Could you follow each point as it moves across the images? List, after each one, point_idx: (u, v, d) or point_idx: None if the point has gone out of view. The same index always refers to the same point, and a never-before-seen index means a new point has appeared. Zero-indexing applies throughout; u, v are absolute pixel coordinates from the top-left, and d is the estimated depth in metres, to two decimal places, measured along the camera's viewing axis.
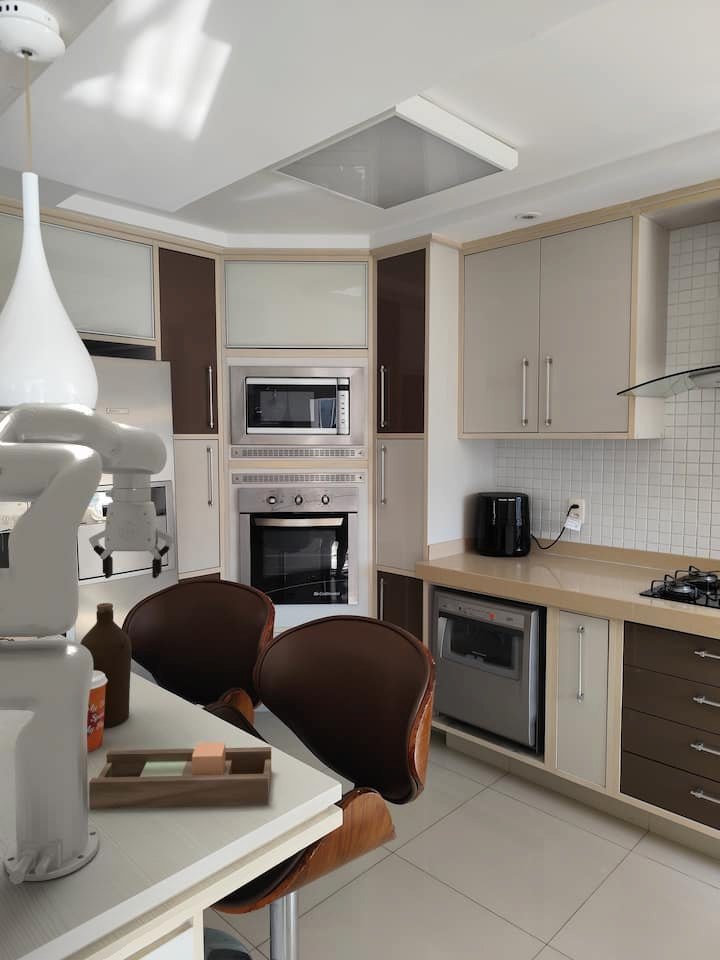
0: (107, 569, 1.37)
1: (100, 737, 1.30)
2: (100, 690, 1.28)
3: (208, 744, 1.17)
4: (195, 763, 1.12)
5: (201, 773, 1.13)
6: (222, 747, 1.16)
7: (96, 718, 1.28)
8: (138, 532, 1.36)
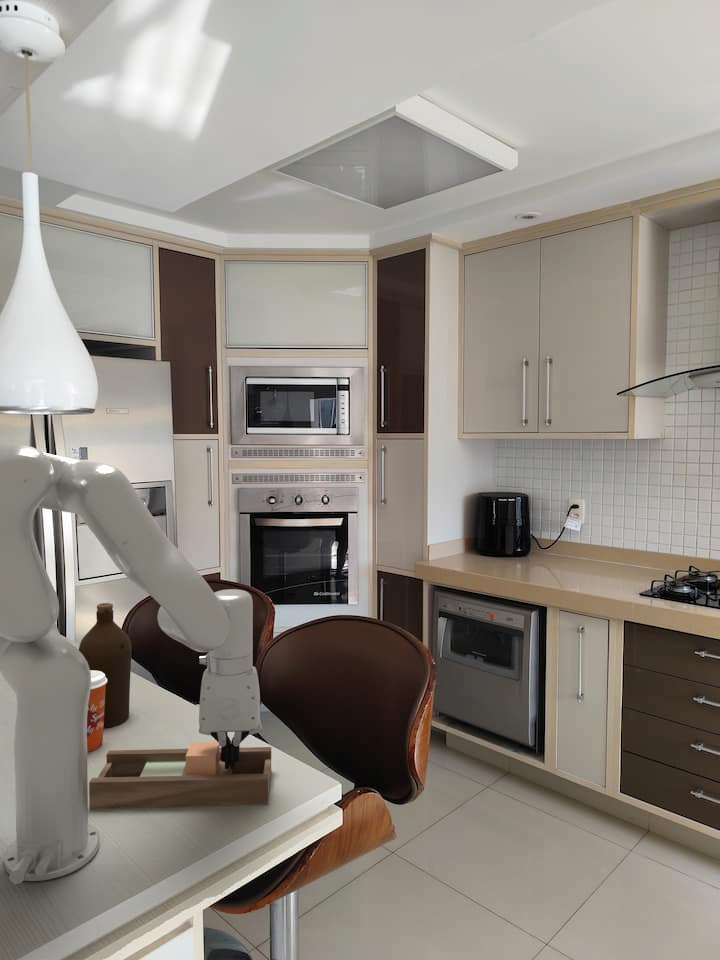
0: (227, 758, 1.14)
1: (100, 737, 1.30)
2: (100, 690, 1.28)
3: (203, 744, 1.17)
4: (189, 763, 1.13)
5: (195, 773, 1.13)
6: (216, 747, 1.16)
7: (96, 718, 1.28)
8: (240, 709, 1.12)
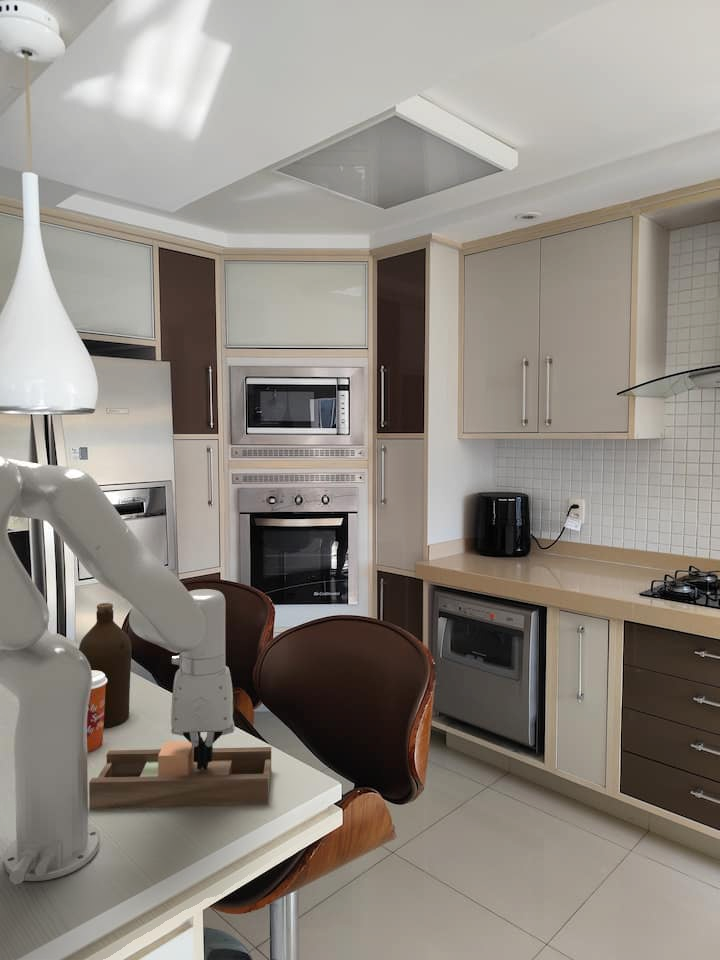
0: (200, 759, 1.14)
1: (100, 737, 1.30)
2: (100, 690, 1.28)
3: (176, 743, 1.17)
4: (161, 762, 1.13)
5: (167, 772, 1.13)
6: (190, 746, 1.16)
7: (96, 718, 1.28)
8: (212, 709, 1.12)
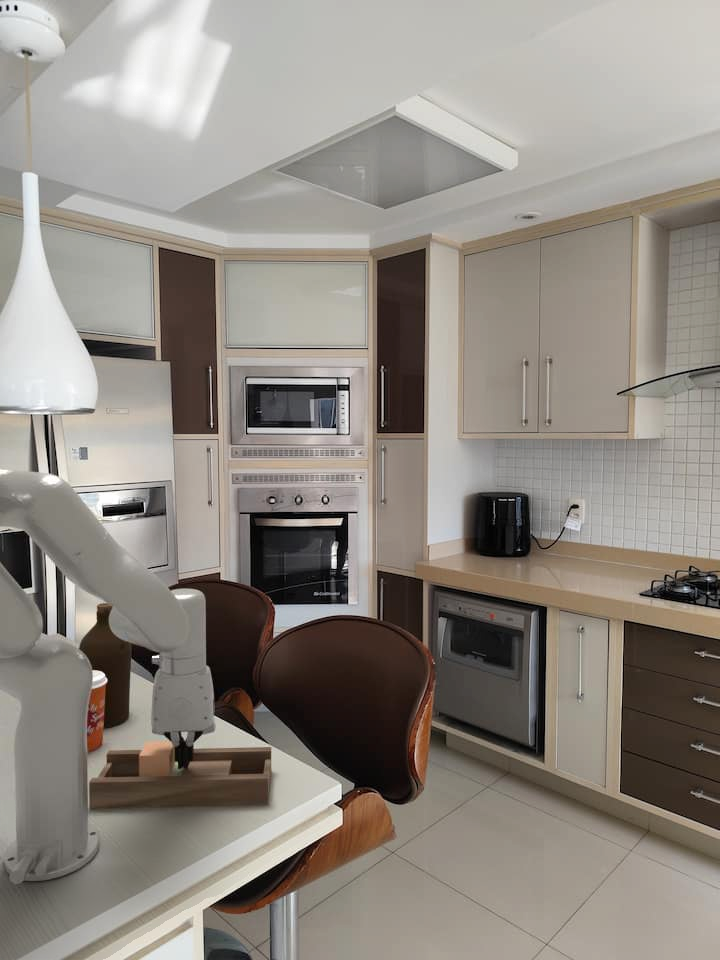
0: (180, 758, 1.13)
1: (100, 737, 1.30)
2: (100, 690, 1.28)
3: (158, 743, 1.17)
4: (142, 762, 1.13)
5: (148, 772, 1.13)
6: (171, 746, 1.16)
7: (96, 718, 1.28)
8: (192, 709, 1.12)
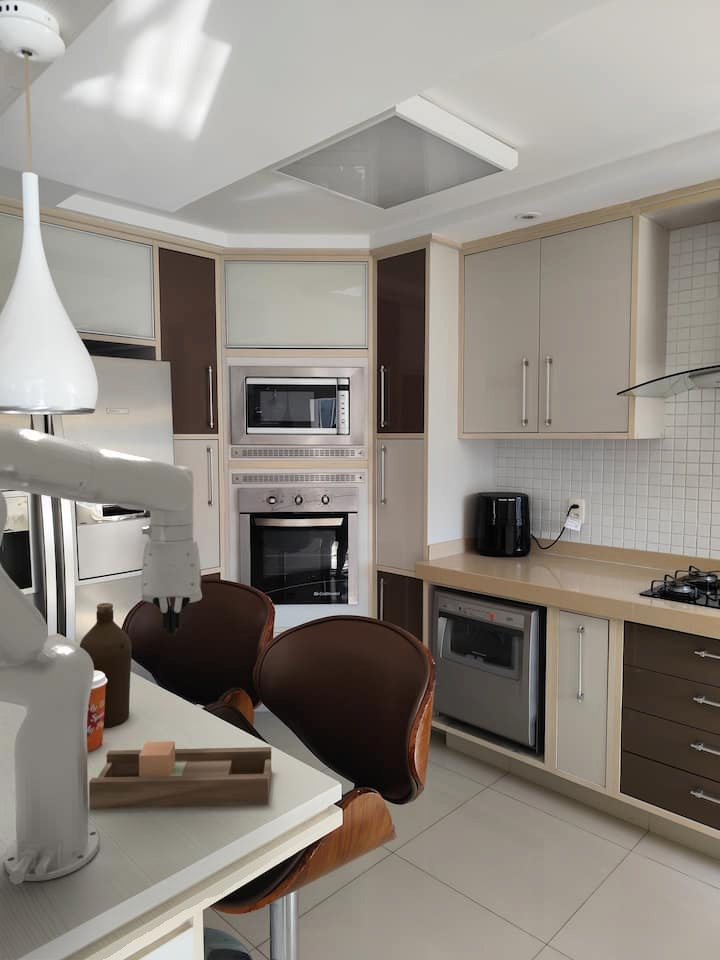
0: (168, 624, 1.20)
1: (100, 737, 1.30)
2: (100, 690, 1.28)
3: (158, 743, 1.17)
4: (142, 762, 1.13)
5: (148, 772, 1.13)
6: (171, 746, 1.16)
7: (96, 718, 1.28)
8: (180, 575, 1.19)
